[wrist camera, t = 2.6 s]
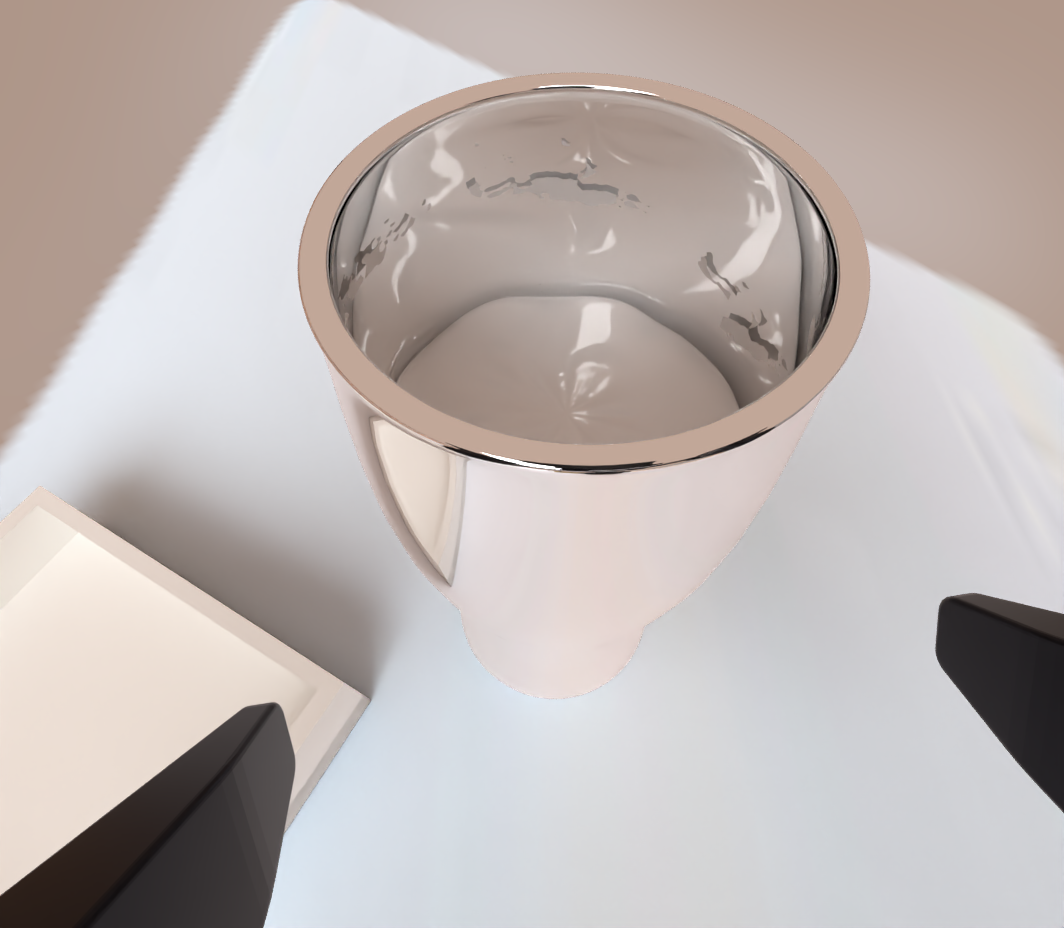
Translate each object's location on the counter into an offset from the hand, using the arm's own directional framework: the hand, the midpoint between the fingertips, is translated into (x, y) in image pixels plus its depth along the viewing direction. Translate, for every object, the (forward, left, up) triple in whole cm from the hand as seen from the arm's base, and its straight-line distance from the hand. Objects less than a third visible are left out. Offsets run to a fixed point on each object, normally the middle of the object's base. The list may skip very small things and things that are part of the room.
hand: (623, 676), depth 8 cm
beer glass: (+3, -3, -11) cm, 12 cm away
